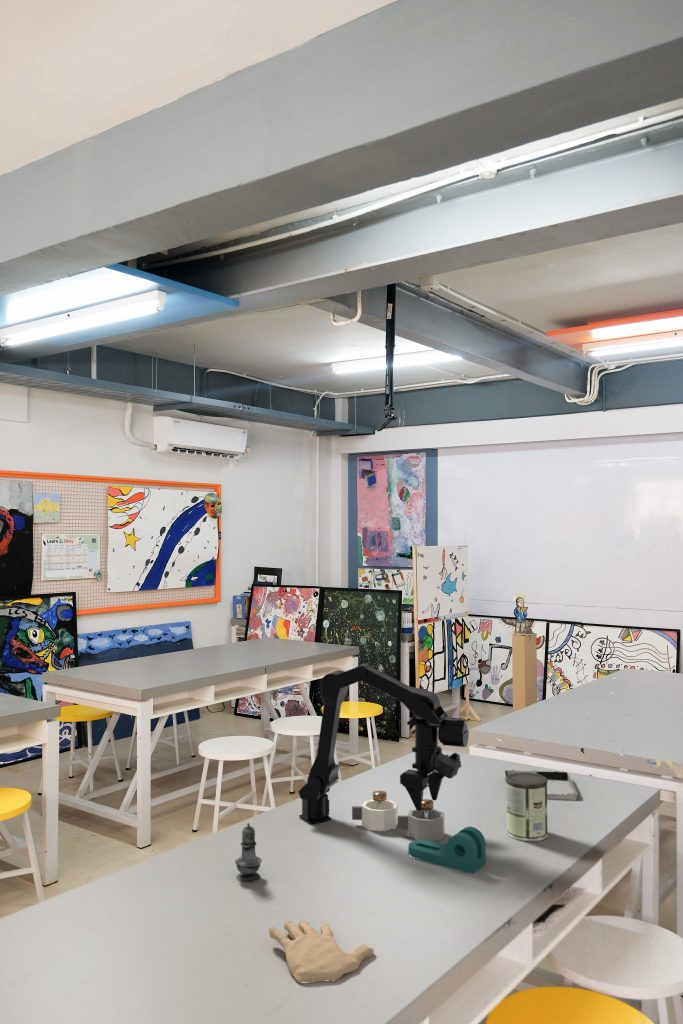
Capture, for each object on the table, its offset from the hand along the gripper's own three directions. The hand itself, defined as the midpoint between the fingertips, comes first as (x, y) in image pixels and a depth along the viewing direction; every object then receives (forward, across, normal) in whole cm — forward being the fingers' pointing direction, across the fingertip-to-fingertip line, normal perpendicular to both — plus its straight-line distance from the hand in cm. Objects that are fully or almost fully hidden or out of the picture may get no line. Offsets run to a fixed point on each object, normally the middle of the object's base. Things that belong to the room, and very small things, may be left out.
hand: (426, 805), depth 209 cm
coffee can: (+8, +14, -21) cm, 27 cm away
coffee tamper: (+7, 0, 0) cm, 7 cm away
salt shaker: (+8, -43, +23) cm, 50 cm away
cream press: (+8, 0, +14) cm, 16 cm away
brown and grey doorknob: (+7, 0, +14) cm, 15 cm away
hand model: (+8, -62, -8) cm, 63 cm away
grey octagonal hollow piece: (+8, 0, 0) cm, 8 cm away
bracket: (+8, -12, -10) cm, 17 cm away
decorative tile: (+8, +52, -13) cm, 54 cm away
